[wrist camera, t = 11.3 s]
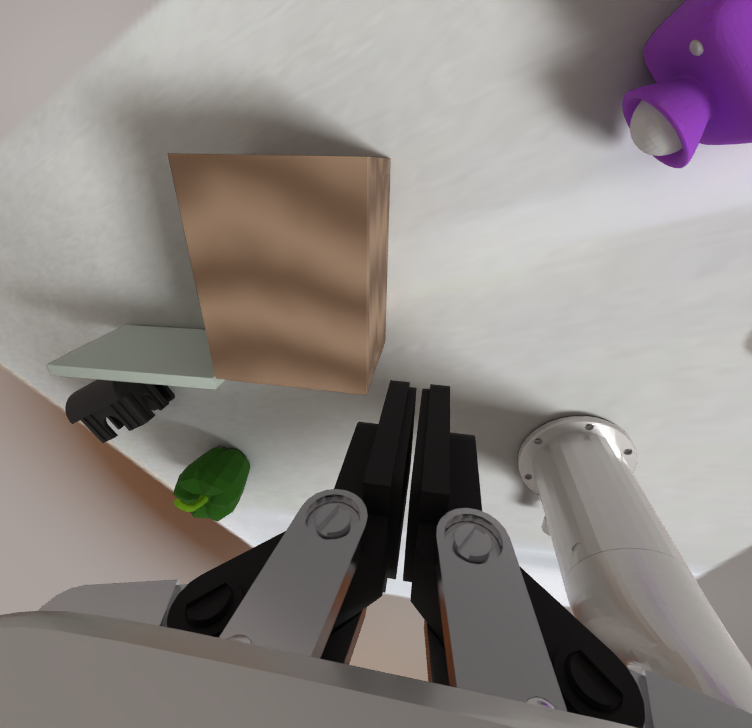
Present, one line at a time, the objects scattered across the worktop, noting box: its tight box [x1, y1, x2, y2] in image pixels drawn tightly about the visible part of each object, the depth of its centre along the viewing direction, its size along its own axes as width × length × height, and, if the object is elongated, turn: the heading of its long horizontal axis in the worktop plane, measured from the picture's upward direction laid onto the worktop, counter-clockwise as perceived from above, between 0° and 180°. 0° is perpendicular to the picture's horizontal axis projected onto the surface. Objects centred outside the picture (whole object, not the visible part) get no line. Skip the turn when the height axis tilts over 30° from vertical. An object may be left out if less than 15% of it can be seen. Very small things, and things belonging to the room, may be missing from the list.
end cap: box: [66, 379, 175, 443], centre depth 49 cm, size 10×7×7 cm
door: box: [46, 325, 225, 389], centre depth 41 cm, size 18×2×11 cm, turn 91°
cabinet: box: [168, 153, 391, 395], centre depth 34 cm, size 18×14×11 cm
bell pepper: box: [173, 447, 250, 521], centre depth 51 cm, size 8×8×10 cm
